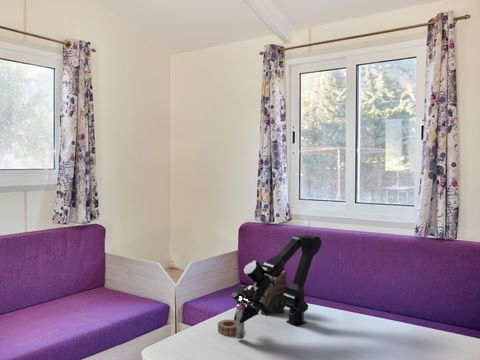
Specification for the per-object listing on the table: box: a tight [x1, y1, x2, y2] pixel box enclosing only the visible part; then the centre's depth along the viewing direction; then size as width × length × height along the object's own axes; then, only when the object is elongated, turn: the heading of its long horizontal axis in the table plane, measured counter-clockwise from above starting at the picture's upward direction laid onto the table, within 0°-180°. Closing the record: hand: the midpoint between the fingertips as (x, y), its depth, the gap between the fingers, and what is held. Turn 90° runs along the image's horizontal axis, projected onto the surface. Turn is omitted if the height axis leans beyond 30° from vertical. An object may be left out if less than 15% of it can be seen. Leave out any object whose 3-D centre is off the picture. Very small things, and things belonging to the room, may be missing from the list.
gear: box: [217, 319, 236, 336], centre depth 175 cm, size 9×9×3 cm
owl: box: [260, 269, 288, 316], centre depth 200 cm, size 13×13×20 cm
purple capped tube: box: [235, 303, 245, 340], centre depth 165 cm, size 3×3×13 cm
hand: (237, 321), depth 165 cm, fingers closed on purple capped tube, 3 cm apart
